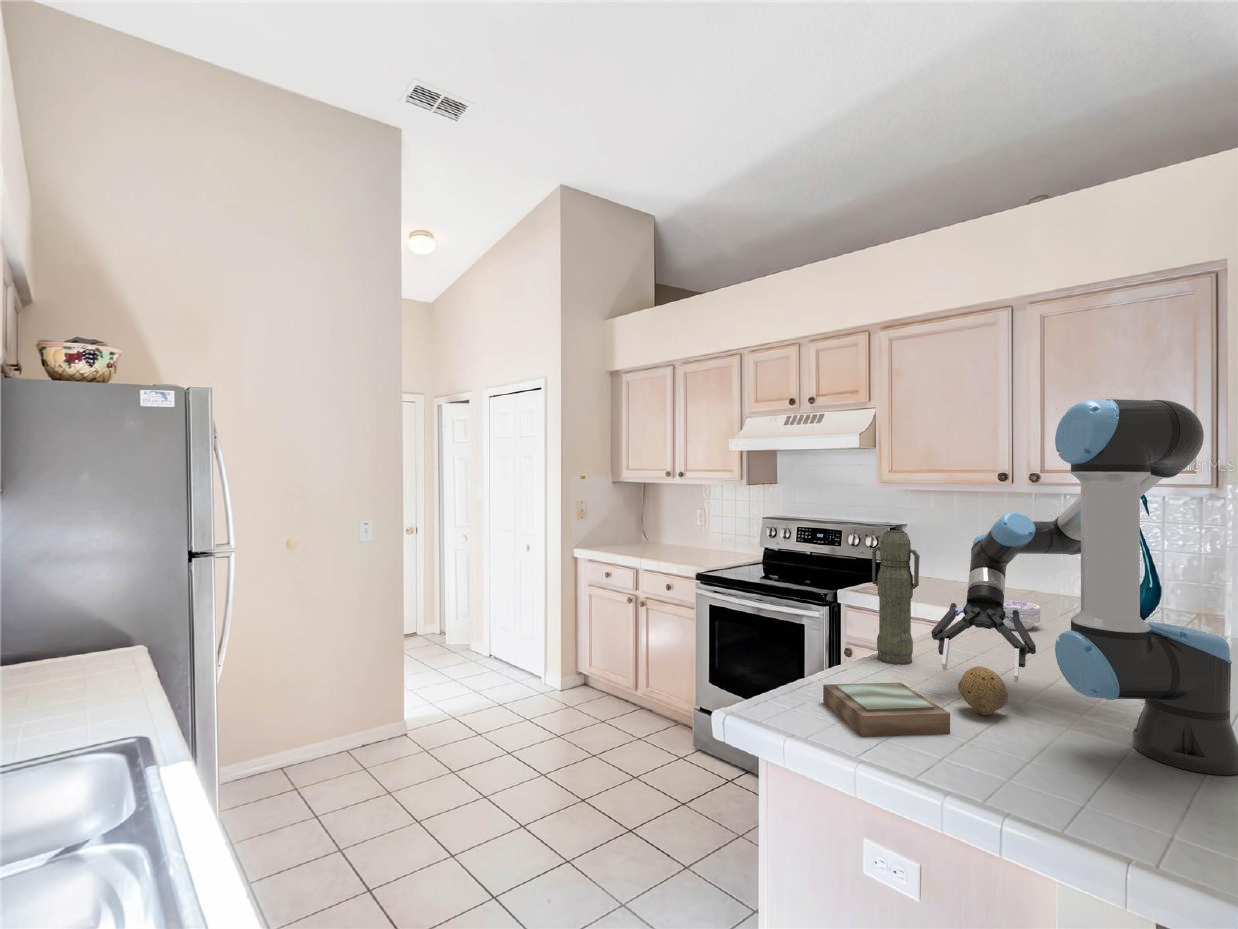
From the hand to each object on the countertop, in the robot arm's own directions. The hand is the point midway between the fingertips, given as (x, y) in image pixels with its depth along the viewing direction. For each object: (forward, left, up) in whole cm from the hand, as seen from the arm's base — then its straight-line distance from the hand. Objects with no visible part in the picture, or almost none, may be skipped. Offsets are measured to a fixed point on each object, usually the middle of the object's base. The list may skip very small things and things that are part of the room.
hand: (979, 673), depth 138 cm
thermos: (+36, -1, -8) cm, 36 cm away
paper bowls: (+67, -60, -8) cm, 91 cm away
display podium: (-3, +23, -8) cm, 25 cm away
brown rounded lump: (-3, +1, -8) cm, 9 cm away
